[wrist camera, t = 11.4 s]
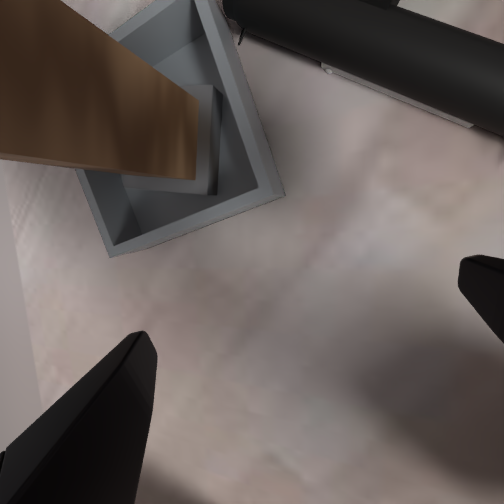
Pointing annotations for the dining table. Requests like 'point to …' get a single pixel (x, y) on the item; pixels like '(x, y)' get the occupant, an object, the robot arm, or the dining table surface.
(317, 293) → the dining table surface
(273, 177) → the tray
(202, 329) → the dining table surface
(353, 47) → the door handle
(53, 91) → the wooden post on base
